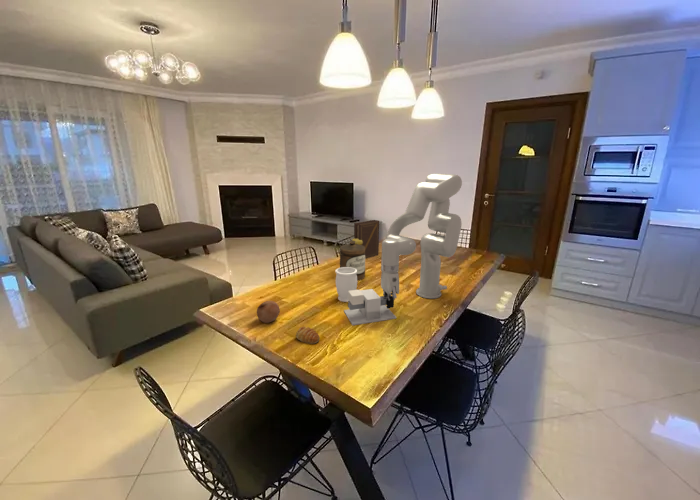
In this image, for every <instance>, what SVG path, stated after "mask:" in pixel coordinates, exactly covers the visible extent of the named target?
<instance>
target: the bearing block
mask: <svg viewBox="0 0 700 500" xmlns="http://www.w3.org/2000/svg"><path fill="white" fill-rule="evenodd" d="M359 290H360V291H361V292H362V293H363V295H364V301H365V308H361V309H355V310H350V309H349V308H348V309H344V310H343V313H344V314H345V316H346V317H347V319H348V320H349V322H350V324H351V326H357V325H364V324H370V323H377V322H382V321H389V320H395V319H397V316H396V315H395V314H394V313H393V312H392V311H391V309H390V308H387V305H382V306H381V298H380V296H379V294H378V293H377V292H376V291H375V290H374V289H373V288H369V289H362V290H361V289H359Z"/></svg>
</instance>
